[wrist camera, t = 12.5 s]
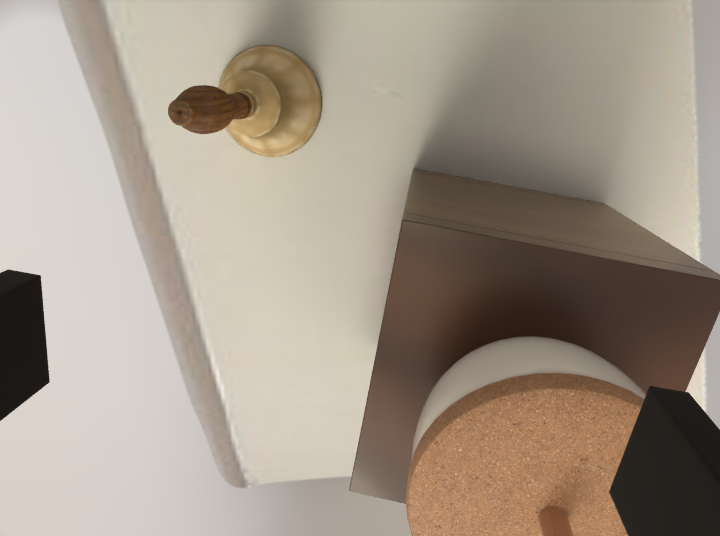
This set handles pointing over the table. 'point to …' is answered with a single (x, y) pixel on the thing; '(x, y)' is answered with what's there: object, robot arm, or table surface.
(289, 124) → the hand bell
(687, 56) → the table surface
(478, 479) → the trinket box
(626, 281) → the bookshelf
